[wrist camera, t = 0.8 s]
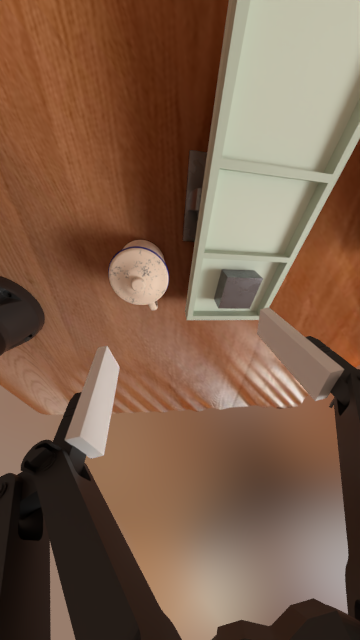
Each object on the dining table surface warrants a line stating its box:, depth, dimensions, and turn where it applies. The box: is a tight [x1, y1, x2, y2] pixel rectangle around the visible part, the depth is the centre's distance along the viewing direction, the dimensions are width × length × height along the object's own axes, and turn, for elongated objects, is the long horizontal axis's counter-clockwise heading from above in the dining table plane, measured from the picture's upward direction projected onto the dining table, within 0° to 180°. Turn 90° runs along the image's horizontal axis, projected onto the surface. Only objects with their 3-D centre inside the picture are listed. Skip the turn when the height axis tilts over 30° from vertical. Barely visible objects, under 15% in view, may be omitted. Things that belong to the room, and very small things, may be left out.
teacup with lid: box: [108, 240, 169, 310], centre depth 29 cm, size 12×9×12 cm
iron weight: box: [214, 269, 263, 309], centre depth 29 cm, size 6×6×3 cm
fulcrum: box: [182, 150, 207, 242], centre depth 27 cm, size 18×12×7 cm, turn 85°
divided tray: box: [185, 0, 360, 320], centre depth 23 cm, size 16×38×3 cm, turn 175°
